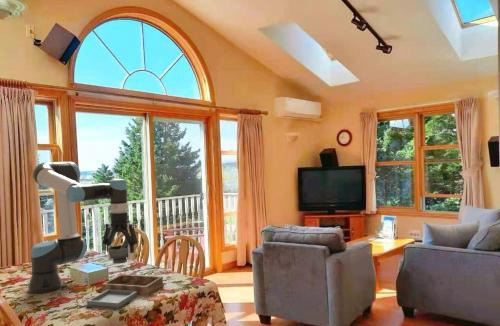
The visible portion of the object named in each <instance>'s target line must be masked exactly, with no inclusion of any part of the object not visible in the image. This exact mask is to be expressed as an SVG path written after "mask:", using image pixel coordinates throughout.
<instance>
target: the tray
mask: <svg viewBox="0 0 500 326" xmlns="http://www.w3.org/2000/svg"><path fill="white" fill-rule="evenodd" d="M137 298H138V294H137V291H128V290H113V289H108V290H106V291H104V292H103V291H102V292H101V293H99V294H97V295H95V296H93V297H91V298H89V299H87V300H86V307H87V308H99V309H110V308H111V309H112V310H113V309H114V310H119V309H121V308H123V307H124V306H125V305H127V304H128V303H130V302H131V301H134V300H135V299H137ZM111 309H110V310H111Z"/></svg>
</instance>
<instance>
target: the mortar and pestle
mask: <svg viewBox="0 0 500 326" xmlns="http://www.w3.org/2000/svg"><path fill="white" fill-rule="evenodd" d="M128 246H129V243H128V242H127V240H126V238H125V237H124V240H123V242H122V244H121V245H113V247H110V248H109V255H110V256H111V258H112V259H111V260H112V263H113V264H116V265H118V264H119V265H120V264H126V263H127V262H128Z"/></svg>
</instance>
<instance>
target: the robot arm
mask: <svg viewBox="0 0 500 326" xmlns="http://www.w3.org/2000/svg"><path fill="white" fill-rule="evenodd" d="M32 178H33V180H34V181H35V183H36V184H37V185H40V186H42V187H48V188H51V189H53V190H54V191H56V202H57V216H58V217H57V218H58V226H59V227H58V228H59V236H58V237H57V238H56V239H57V240H47V241H42V242H38V243H37V244H34V245H33V246H31V249H30V250H31V251H30V252H31V253H30V258H31V260H30V261H31V277H30V281H29V284H28V287H27V289H28V293H29V294H44V293H51V292H54V291H57V290H59V289H61V288H62V287H63V283H62V280H61V277H60V275H59V272H58V271H59V270H58V266H61V265H64V264H69V263H74V262H76V261H77V262H78V261H80V260H82V259H83V258H84V257H85V256H86V253H87V243H86V240H85V239H84V238H83V237H81V236H82V235H81V234H79V233H78V224H77V214H76V203H80V202H90V201H97V200H110V201H109V203H110V212H111V213H110V221H111V222H107V223H105V225H104V226H105V228H104V234H103V239H102V245H105V246H106V253H107V257H108V258H107V259H108V260H113V259H112V258H111V256H110V255H109V248H110V247H113V246H114V245H113V241H114V239H115V237H116V234H117V233H118V232H119V233H121V234H122V235H123V236H124V239H125V238H126V240H127V242H128V243H129V245H128V257H127V261H131V260H133V259H134V257H133V256H134V252H135V245H138V243H139V242H138V241H139V240H138V239H137V238H138V237H137V234H136V231H135V223H129V221H128V220H129V216H128V187H127V186H128V185H127V180H126V179H124V178H120V179H115V178H114V179H110V181H109V183H106V182H100V183H93V184H83V183H80V182H79V181H80V179H81V170H80V167H78V165H77V164H76V163H75V162H73V161H53V162H51V161H49V162H47V161H45V162H41V163H40V164H38V165H37V166H35V167H34V169H33V172H32ZM111 228H112V230H111Z"/></svg>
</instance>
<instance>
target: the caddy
mask: <svg viewBox="0 0 500 326" xmlns="http://www.w3.org/2000/svg"><path fill="white" fill-rule="evenodd" d="M161 286H162V287H163V286H164V278H163V276H158V275H155V276H154V275H141V274H140V275H139V274H119V275H117V276H115V277H113V278H111V279H110V280H108V281H106V282H104V283H102V285H101V287H102V292H104V291H106V290H108V289H113V290H128V291H137V294H138V296H139V297H148V296H150V295H151V294H153V293H154V292H156V291H157V290H159V289H160V288H161Z"/></svg>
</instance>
